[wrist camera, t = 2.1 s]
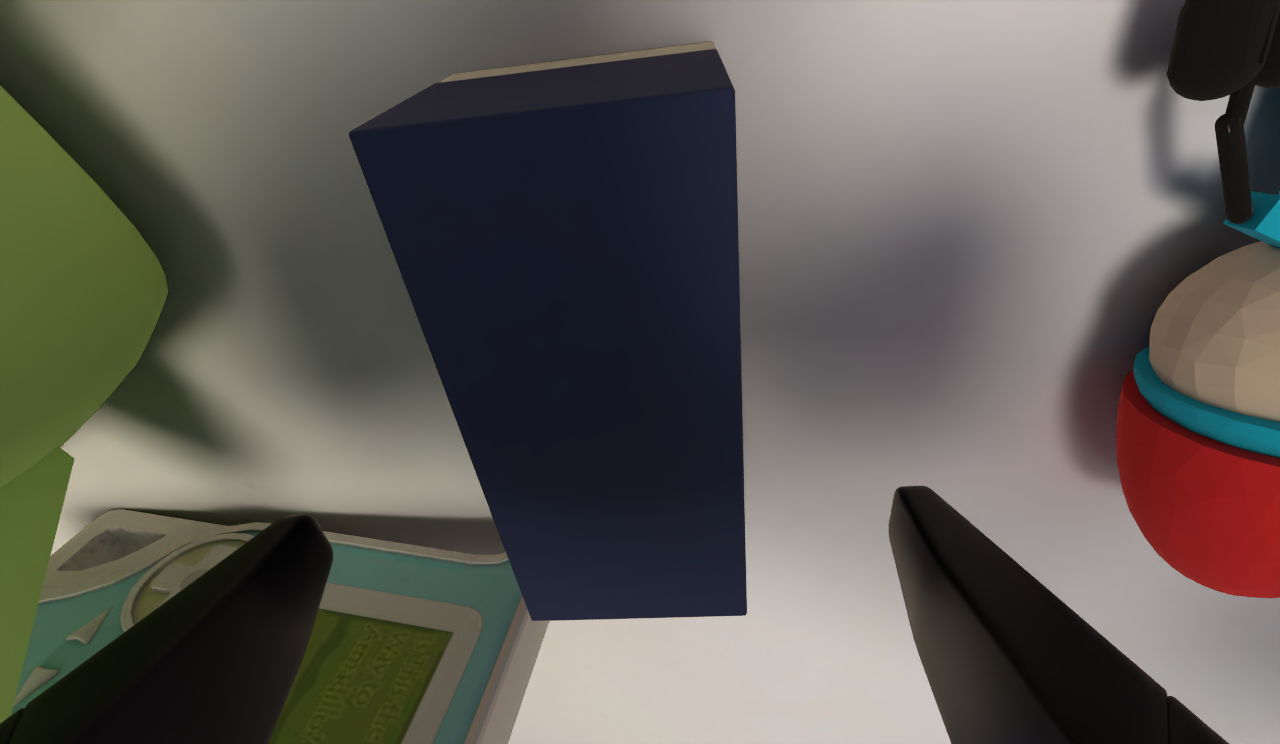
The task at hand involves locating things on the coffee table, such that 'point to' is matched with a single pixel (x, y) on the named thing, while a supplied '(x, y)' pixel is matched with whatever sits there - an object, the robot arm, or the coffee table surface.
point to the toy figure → (1215, 344)
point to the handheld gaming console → (316, 629)
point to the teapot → (55, 348)
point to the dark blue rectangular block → (584, 316)
